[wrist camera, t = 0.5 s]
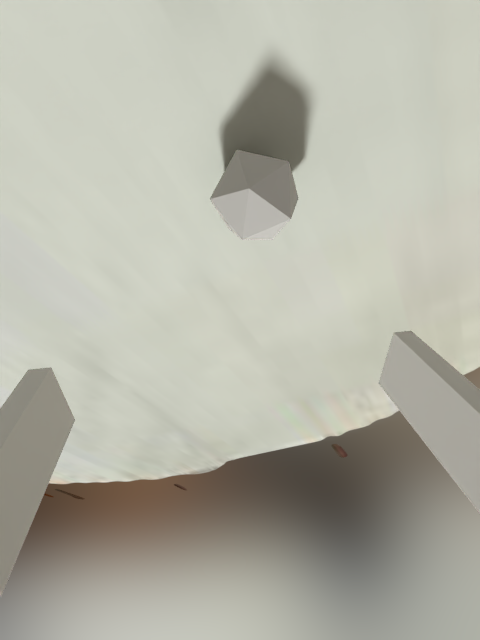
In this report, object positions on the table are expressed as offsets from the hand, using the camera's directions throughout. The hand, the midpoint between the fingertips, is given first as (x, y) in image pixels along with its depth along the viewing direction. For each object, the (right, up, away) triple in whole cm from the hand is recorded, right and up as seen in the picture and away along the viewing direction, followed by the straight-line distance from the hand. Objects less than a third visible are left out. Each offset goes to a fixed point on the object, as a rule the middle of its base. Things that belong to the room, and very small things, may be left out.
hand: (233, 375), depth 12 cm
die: (+2, +18, +21) cm, 28 cm away
